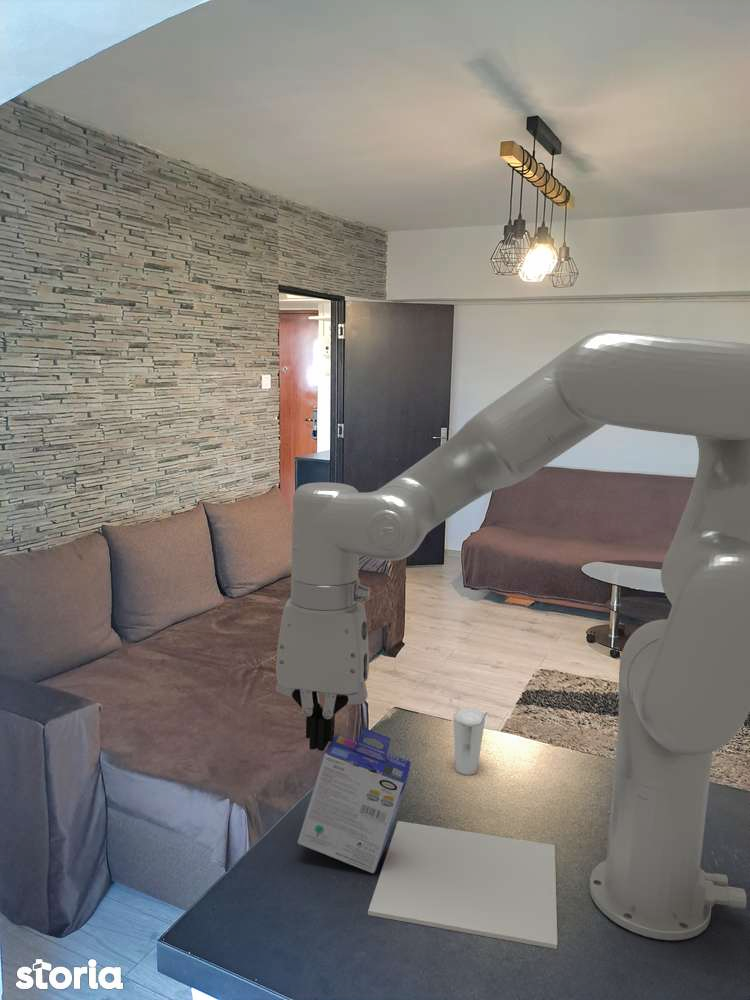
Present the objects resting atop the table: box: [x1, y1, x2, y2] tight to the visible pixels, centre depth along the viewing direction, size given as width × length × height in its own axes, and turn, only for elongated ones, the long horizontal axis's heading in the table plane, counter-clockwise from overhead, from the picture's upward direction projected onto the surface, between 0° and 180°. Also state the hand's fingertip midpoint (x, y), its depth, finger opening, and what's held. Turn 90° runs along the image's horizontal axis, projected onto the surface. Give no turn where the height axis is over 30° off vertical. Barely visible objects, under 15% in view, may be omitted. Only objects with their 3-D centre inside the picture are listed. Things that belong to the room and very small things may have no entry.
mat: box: [367, 820, 558, 950], centre depth 86 cm, size 20×17×1 cm
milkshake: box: [452, 707, 488, 776], centre depth 110 cm, size 4×5×10 cm
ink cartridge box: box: [296, 727, 411, 874], centre depth 88 cm, size 10×6×14 cm, turn 79°
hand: (319, 744), depth 88 cm, fingers closed
